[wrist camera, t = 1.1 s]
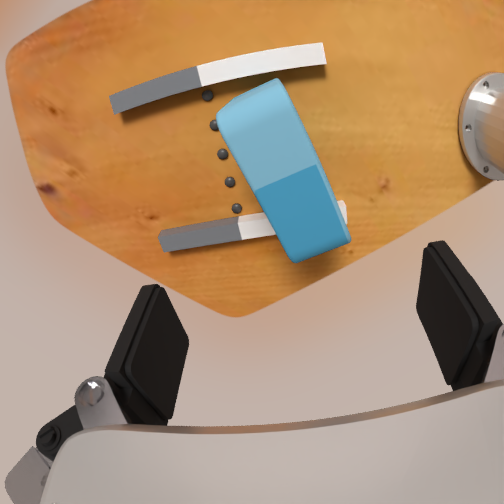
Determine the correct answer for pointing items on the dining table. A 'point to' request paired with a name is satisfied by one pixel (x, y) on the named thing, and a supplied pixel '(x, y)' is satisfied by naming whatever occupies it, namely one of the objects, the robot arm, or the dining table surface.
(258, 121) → the blue rounded box
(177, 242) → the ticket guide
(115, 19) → the dining table surface
